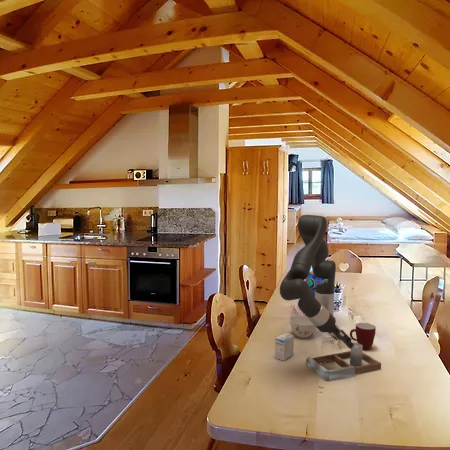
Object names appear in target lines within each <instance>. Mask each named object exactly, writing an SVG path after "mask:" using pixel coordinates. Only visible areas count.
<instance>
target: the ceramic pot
mask: <svg viewBox="0 0 450 450" xmlns="http://www.w3.org/2000/svg"><path fill="white" fill-rule="evenodd" d="M304 281H306V282H307V283H308V285H309V287H310V289H311V291H312V293H313V295H314V297H315V287H316V285H318V284H323V283H325V282H327V281H328V279H322V278H316V277H315V276H314V274H313V271H312V270H310V272H309V275H308V277H307V278H306V279H305V280H304Z"/></svg>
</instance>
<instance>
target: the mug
mask: <svg viewBox="0 0 450 450" xmlns="http://www.w3.org/2000/svg"><path fill="white" fill-rule="evenodd" d="M353 333H355V336H356V338H355V337H353ZM375 336H376V325H374V324H371V323H368V322H357V323H356V324H355V328H354V329H351V330H350V331H349V337H350V338H351V339H352V340H353V341H355V342H356V343H359V344H361V345H363V350H362V351H368V350H370V349H371V348H372V346H373V344H374V342H375Z"/></svg>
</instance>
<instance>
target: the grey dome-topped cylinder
mask: <svg viewBox="0 0 450 450" xmlns="http://www.w3.org/2000/svg"><path fill="white" fill-rule="evenodd" d="M352 343H353V344H354V346H353V347H352V348H351V349H350V351H351V352H350V358H349V364H350V365H352V366H354V367H357V366H362V365H363V360H362V352H363V351H364V350H363V345H361V344H359V343H357V342H352Z"/></svg>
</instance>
